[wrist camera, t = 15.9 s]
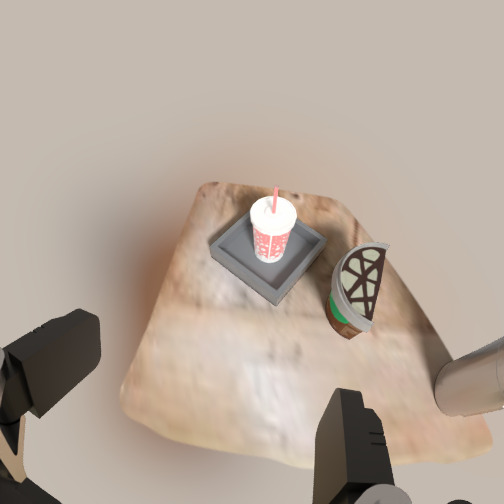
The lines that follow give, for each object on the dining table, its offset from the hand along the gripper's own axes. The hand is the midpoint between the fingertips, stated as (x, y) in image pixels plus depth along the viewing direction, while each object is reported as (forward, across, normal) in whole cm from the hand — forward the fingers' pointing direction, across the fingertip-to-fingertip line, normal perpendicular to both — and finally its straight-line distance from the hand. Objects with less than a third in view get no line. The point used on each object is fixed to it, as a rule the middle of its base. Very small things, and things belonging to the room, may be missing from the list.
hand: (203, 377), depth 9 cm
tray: (+38, +2, +5) cm, 39 cm away
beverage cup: (+38, +2, +4) cm, 39 cm away
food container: (+34, -10, +9) cm, 37 cm away
